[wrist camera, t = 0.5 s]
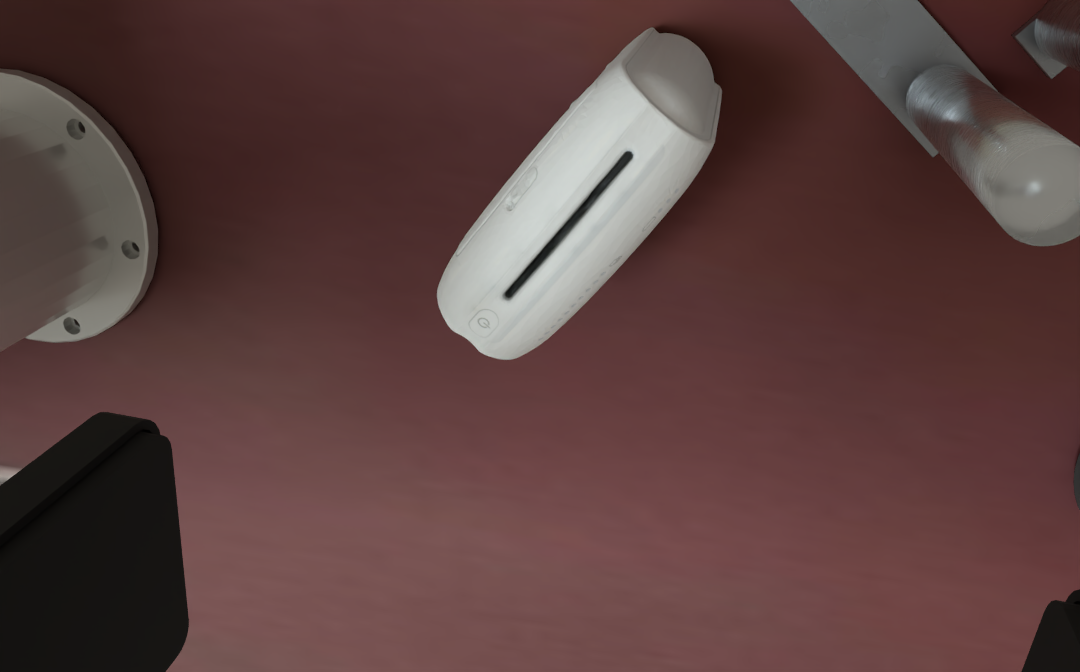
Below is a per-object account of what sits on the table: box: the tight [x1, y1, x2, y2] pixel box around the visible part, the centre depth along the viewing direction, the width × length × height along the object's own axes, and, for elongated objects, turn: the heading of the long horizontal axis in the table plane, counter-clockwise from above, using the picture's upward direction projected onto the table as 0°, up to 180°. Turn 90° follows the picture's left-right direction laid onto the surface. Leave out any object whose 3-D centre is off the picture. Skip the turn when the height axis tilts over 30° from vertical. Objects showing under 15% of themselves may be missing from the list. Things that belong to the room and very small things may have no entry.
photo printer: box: [437, 28, 722, 360], centre depth 32 cm, size 10×4×12 cm, turn 142°
